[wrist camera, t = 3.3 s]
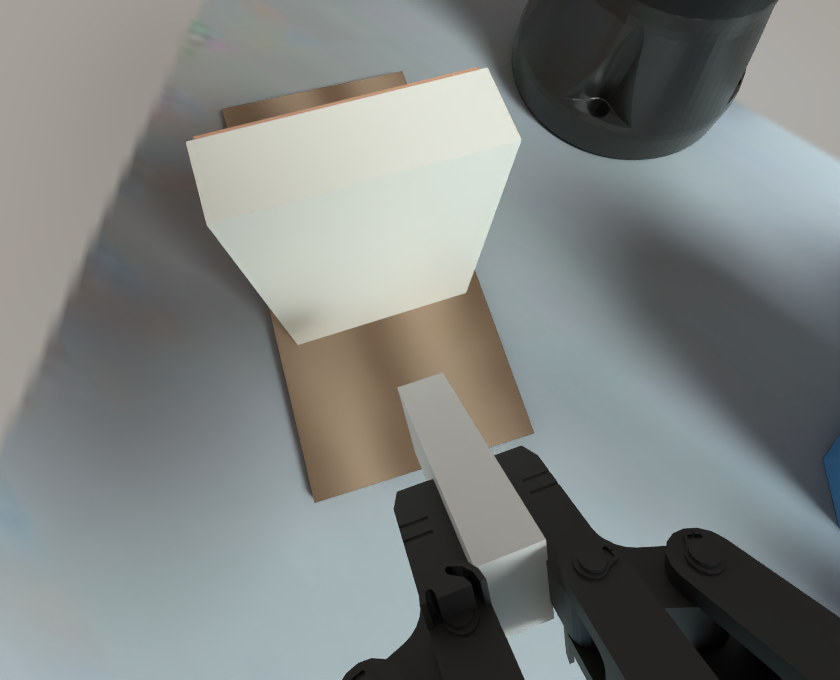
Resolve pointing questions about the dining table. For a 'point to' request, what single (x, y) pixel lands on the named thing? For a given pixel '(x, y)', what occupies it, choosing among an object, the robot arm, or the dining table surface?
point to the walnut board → (386, 361)
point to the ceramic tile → (360, 199)
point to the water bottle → (834, 474)
